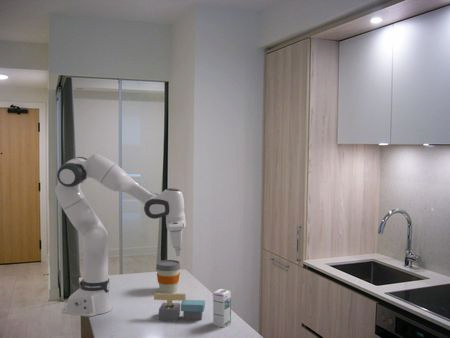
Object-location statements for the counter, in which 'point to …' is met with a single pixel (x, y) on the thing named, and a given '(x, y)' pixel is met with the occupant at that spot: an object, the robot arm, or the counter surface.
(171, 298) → the T-key
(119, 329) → the counter surface
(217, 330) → the counter surface
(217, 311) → the syrup box
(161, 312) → the block
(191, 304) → the cover
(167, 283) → the reusable coffee cup
